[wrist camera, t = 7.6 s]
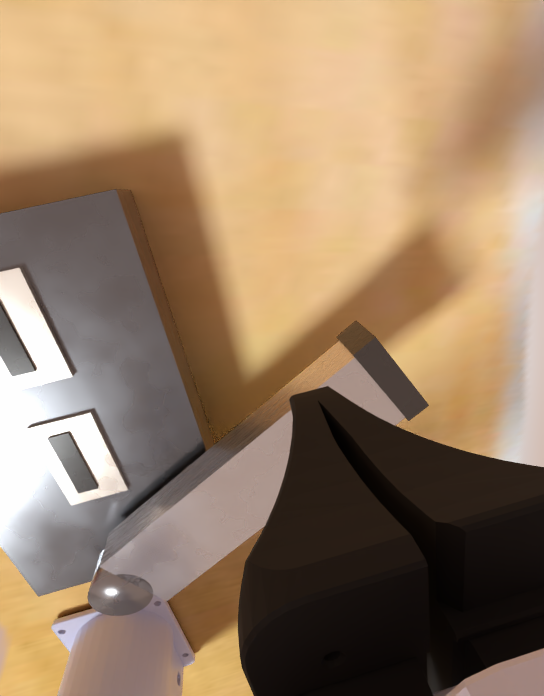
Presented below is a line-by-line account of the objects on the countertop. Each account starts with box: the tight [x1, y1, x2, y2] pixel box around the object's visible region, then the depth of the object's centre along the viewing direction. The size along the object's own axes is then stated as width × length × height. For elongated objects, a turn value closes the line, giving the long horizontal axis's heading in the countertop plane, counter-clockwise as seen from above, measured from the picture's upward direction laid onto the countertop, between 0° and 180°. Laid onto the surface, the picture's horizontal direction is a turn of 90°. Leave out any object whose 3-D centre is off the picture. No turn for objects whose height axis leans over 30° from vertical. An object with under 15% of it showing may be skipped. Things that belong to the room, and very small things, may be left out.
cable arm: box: [88, 321, 429, 616], centre depth 18 cm, size 20×5×2 cm, turn 130°
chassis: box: [0, 189, 215, 596], centre depth 19 cm, size 20×12×3 cm, turn 11°
